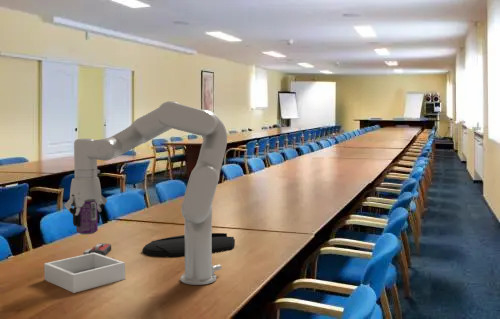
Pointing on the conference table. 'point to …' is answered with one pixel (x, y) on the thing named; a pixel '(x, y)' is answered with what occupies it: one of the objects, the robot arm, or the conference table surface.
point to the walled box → (84, 272)
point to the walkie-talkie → (99, 249)
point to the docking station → (177, 245)
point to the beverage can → (88, 218)
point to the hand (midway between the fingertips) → (86, 224)
